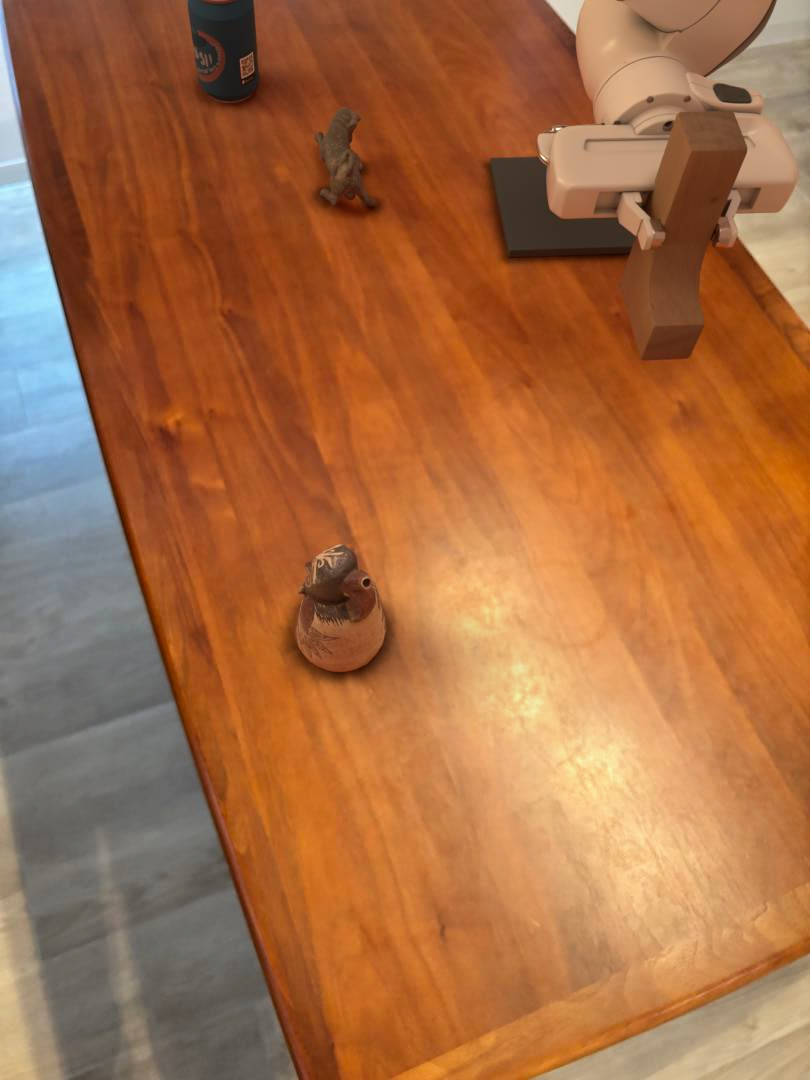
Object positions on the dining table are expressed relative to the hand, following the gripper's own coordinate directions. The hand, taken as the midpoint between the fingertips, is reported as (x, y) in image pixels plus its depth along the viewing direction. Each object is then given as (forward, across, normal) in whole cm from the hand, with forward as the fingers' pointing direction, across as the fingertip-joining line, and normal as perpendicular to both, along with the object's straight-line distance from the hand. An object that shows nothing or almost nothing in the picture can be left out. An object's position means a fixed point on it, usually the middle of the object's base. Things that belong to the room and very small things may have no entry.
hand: (690, 242), depth 79 cm
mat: (-25, -2, +19) cm, 32 cm away
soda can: (-46, -37, +20) cm, 62 cm away
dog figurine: (-30, -25, +19) cm, 44 cm away
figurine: (+23, -29, +19) cm, 42 cm away
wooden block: (-1, 0, +10) cm, 10 cm away
